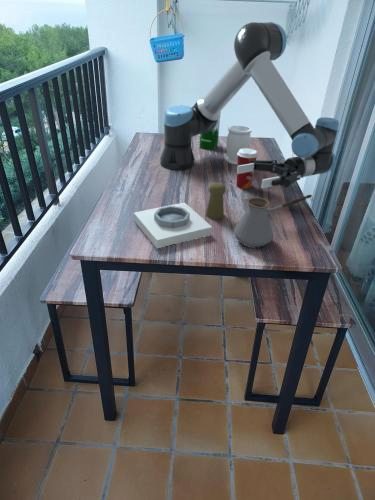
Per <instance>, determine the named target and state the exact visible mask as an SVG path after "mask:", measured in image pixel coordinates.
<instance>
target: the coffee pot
mask: <svg viewBox="0 0 375 500" xmlns="http://www.w3.org/2000/svg"><path fill="white" fill-rule="evenodd" d="M307 199H310V201H311V202H313V201H314V198H313V195H312V194H307V195H304V196H301V197H298V198H295V199H292V200H290V201H287V202H285V203H283V204H280V205H277V206H275V207H272V208H269V207H270V205H271V203H270V201H269V200H268V199H266V198H262V197H256V196H255V197H250V198H248V199H247V201H246V203H247V206H248V207H247V208H246V210H245V212H244V213H243V215H242V216H241V219H239V221H238V223H237V224H236V226H235V228H234V230H233V232H234V236H235V238H236V239H237V241H239V243H240V244H242V243H243V244H245V245H247V246H250V247H249V248H251V247H259V248H261V247H260V246H262V247H264V246H267V244H269V243H270V242H271V241H272V240H273V237H274V231H273V227H272V224H271V221H270V217H269V213H272V212H275V211H277V210H280V209H283V208H286V207H289V206H292V205H296V204H298V203H300V202H302V201H305V200H307ZM268 208H269V209H268ZM243 244H242V245H243ZM247 246H246V247H247Z"/></svg>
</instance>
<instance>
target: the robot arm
mask: <svg viewBox="0 0 375 500" xmlns="http://www.w3.org/2000/svg"><path fill="white" fill-rule="evenodd" d="M233 47H234V48H233V50H234V53H235V54H234V55H235V57H236V58H235V59H234V61H232V63H231V64H230V65H229V67H228V68H227V69H226V70H225V72H224V73H223V75H222V76H220V78H219V79H218V80H217V82H216V83H215V84H214V86H212V88H211V89H210V91H208V93H207V95H205V96H204V97H203V96H202V97H199V98H198V99H197V100H196V102H195V103H194V105H193V106H192V107H191V106H189V105H182V104H181V105H180V104H179V105H173V106H171V107H169V108H167V109H166V110H165V111H164V118H163V127H164V130H163V131H164V136H163V137H164V146H163V150H162V153H161V156H160V166H162V167H164V168H167V169H171V170H186V169H187V170H188V169H191V168H193V167H194V166H195V164H196V163H195V162H196V159H195V156H194V152H193V148H192V142H193V141H192V139H193V137H196V136H200V134H203V133H208V132H210V131H211V130H213V129H214V128H215V127H216V125H217V123H218V119H219V117H220V118H221V114H220V111H221V112H222V111H223V109H224V107H226V106H227V105H228V104H229V102H230V101H231V100H232V99H233V98H234V97H235V96H236V94H237V93H238V92H239V91H240V89H241V88H243V86H245V84H246V83H247V82H248V81H250V78H252V80H253V81H254V83H255V84H256V86H257V87H258V89H259V91H260V92H261V93H262V96H264V98H265V100H266V102H267V103H268V105H269V106H270V108H271V109H272V111H273V112H274V113H275V116H276V117H277V118H278V120H279V122H280V123H281V125H282V126H283V128H284V129H285V131H286V132H287V134H288V136H289V137H290V140H292V141H291V151H292V153H293V154H294V155H295V156H293V157H288V158H286V160H285V161H283V162H278V160H277V159H273V160H272V159H271V160H265V159H263V160H257V159H256V160H250V164H245V165H239V166H238V167H236V175H237V174H241V173H246V172H252V171H253V170H254V171H258V172H259V171H261V172H270V174H277V175H278V176H273V177H268V178H263V179H262V180H261V188H262V189H267V188H271V187H276V186H281V187H282V186H284V187H285V188H289V187H291V186H292V185H293V184H294V183H295V182H297V181H300V180H301V179H303V178H306V177H311V176H315V175H321V174H322V175H323V174H326V173H329V172H332V171H333V170H334V169H335V168H336V166H337V157H336V155H335V153H334V152H333V151H334V147H335V142H336V139H337V135H338V132H339V126H340V121H339V120H338V119H336V118H333V117H325V116H324V117H319V118H318V119H317V120H316V122H315V125H314V126H313V124H312V122H311V121H310V119H309V118H308V116H307V115H306V113H305V111H304V110H303V108H302V107H301V105H300V104H299V102H298V101H297V98H296V97H295V96H294V95H293V93H292V91H291V90H290V88H289V87H288V85H287V83H286V82H285V80H284V79H283V77H282V76H281V74H280V73H279V70H278V69H277V68H276V66H275V65H274V63H273V62H272V61H276V60H277V59H279V58H280V57H281V56H282V55H283V54H284V52H285V50H286V47H287V34H286V31H285V29H284V28H283V27H282V26H281V25H280V24H278V23H276V22H273V21H270V22H269V21H268V22H249V23H246V24H245V25H243V26H241V28H240V29H239V30H238V31H237V32H236V35H235V38H234V42H233Z"/></svg>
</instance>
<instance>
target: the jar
mask: <svg viewBox="0 0 375 500" xmlns="http://www.w3.org/2000/svg"><path fill="white" fill-rule="evenodd" d="M227 131H228V133H227V136H226V137H227V138H226V154H227V157H228V158H227V160H226V162H227V163H229V164H231V165H236V166H237V163H238V155H237V153H238V151H239V150H240V149H243V148H249V149H250V146H251V133H252V131H253V129H252V127H249V126H245V125H230V126H228V127H227Z"/></svg>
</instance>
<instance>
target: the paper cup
mask: <svg viewBox="0 0 375 500" xmlns="http://www.w3.org/2000/svg"><path fill="white" fill-rule="evenodd" d="M237 155H238V163H237V165H236V166H237V167H238V166H239V165H245V164H250V160H257V158H258V151H257V150H256V149H253V148H250V147H249V148H243V149H240V150H239V151H238V153H237ZM237 167H236V168H237ZM254 172H255V170H253V171H252V172H246V173H241V174H237V173H236V181H235V182H236V183H235V185H236V187H237V188H239V189H241V190H243V189H244V190H247V189H250V188H251V186H252V181H253V177H254Z"/></svg>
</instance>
